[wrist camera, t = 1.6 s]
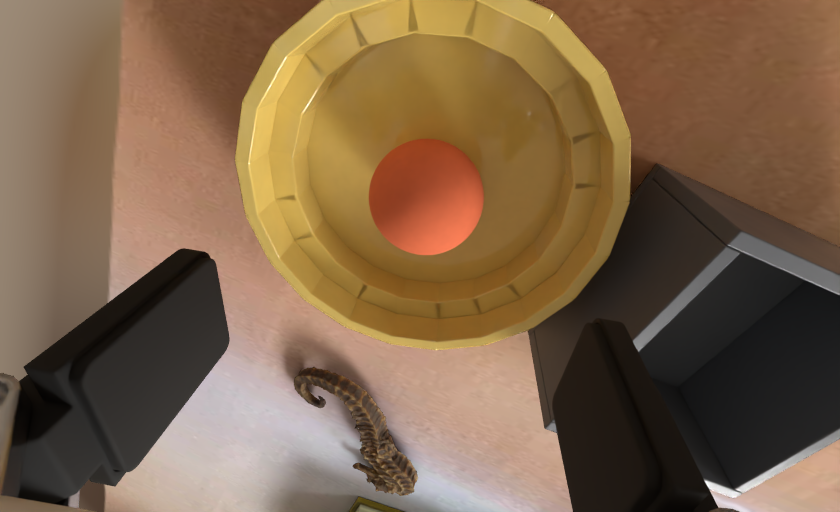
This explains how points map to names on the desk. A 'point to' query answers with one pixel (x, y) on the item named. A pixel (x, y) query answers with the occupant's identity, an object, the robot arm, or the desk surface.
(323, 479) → the desk surface
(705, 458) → the bin
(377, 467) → the seahorse
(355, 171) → the bowl
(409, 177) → the toy ball
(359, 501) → the hardcover book
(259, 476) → the desk surface
